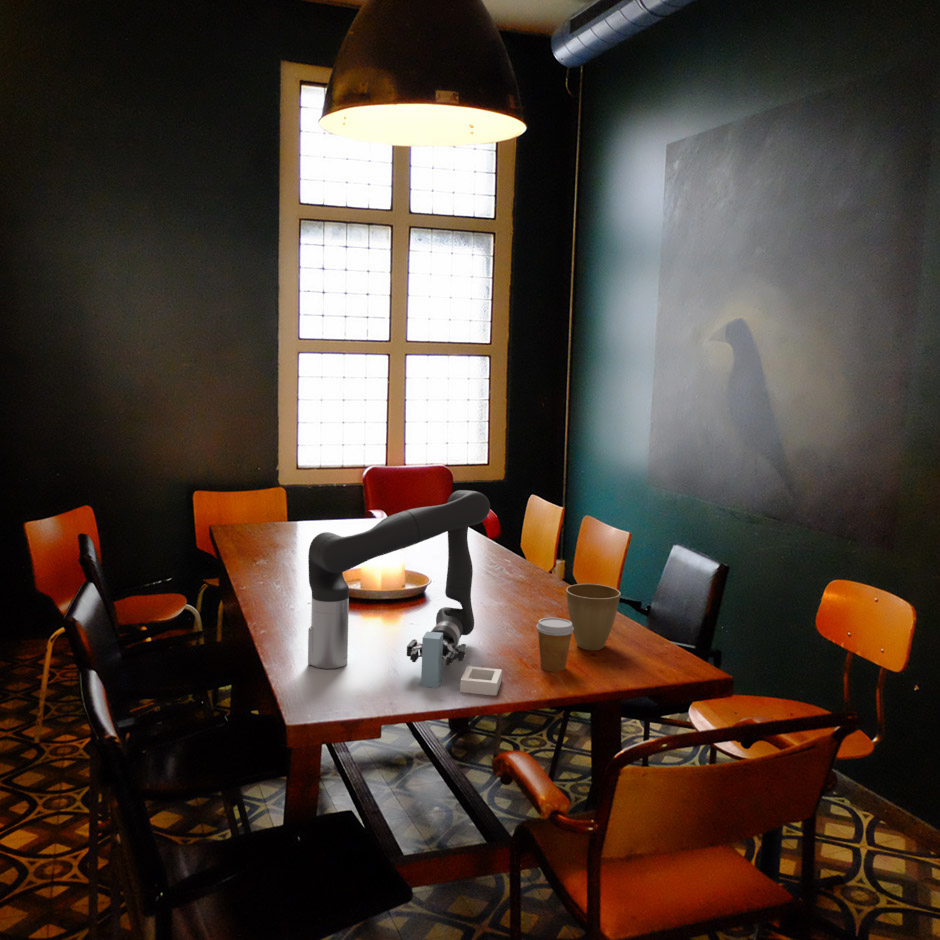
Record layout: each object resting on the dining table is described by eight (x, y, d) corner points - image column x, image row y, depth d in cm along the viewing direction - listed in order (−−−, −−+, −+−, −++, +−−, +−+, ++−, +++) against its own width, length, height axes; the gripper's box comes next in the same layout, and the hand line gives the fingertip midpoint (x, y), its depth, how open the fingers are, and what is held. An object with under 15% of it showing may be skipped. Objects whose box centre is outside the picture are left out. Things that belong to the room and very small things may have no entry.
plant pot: (554, 640, 247) (557, 585, 245) (600, 636, 252) (603, 582, 250) (578, 657, 233) (582, 599, 231) (627, 652, 239) (630, 595, 237)
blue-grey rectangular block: (421, 686, 208) (422, 637, 207) (425, 679, 213) (427, 631, 212) (437, 687, 208) (439, 639, 206) (441, 680, 212) (443, 632, 211)
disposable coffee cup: (568, 661, 230) (571, 617, 228) (574, 674, 220) (576, 628, 219) (532, 660, 229) (534, 616, 228) (536, 673, 220) (538, 627, 218)
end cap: (460, 692, 205) (460, 679, 205) (466, 677, 215) (467, 666, 214) (496, 695, 204) (496, 683, 204) (501, 681, 213) (501, 669, 213)
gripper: (416, 622, 224) (401, 642, 208) (471, 627, 222) (460, 647, 206) (416, 650, 225) (400, 672, 209) (470, 655, 223) (459, 677, 207)
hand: (430, 659), depth 208 cm, fingers open, 8 cm apart
